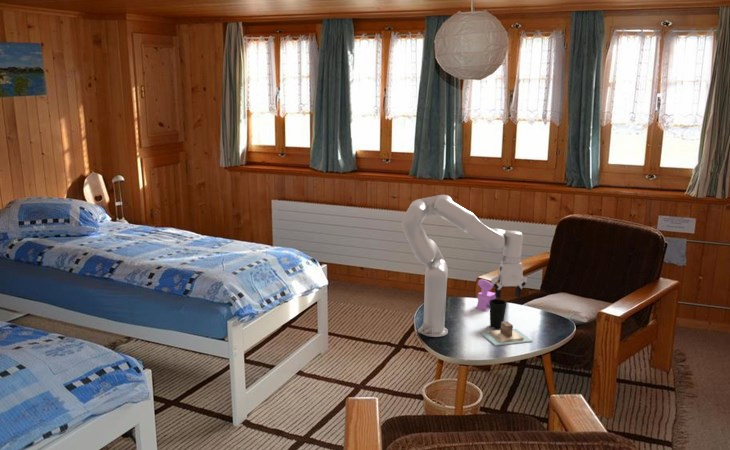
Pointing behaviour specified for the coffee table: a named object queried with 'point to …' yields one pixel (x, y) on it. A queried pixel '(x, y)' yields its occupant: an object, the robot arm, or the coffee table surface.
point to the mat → (497, 343)
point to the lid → (506, 333)
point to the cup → (497, 312)
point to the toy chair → (485, 294)
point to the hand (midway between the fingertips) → (507, 297)
